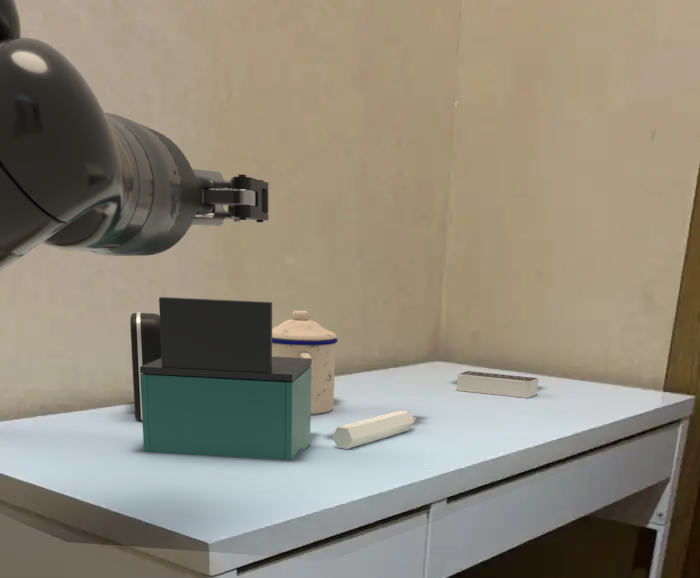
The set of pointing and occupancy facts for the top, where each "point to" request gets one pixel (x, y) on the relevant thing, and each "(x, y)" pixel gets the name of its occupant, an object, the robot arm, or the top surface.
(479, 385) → the multiport hub
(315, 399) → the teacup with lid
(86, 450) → the top surface
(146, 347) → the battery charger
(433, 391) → the top surface
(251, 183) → the robot arm
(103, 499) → the top surface
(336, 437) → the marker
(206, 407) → the storage box
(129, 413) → the top surface
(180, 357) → the box lid
